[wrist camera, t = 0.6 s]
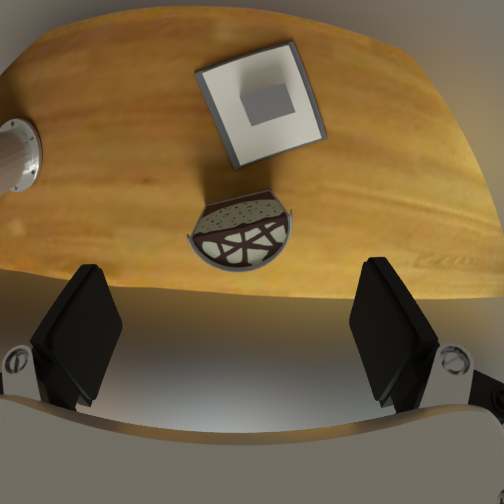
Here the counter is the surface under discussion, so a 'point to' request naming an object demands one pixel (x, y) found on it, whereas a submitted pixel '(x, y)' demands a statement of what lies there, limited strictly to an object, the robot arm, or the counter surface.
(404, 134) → the counter surface
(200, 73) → the mat
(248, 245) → the food container
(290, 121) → the lid
